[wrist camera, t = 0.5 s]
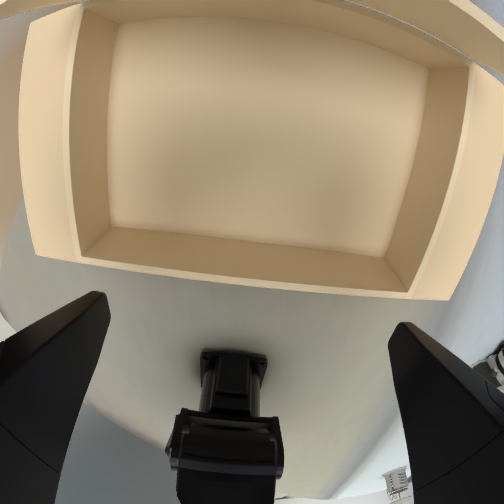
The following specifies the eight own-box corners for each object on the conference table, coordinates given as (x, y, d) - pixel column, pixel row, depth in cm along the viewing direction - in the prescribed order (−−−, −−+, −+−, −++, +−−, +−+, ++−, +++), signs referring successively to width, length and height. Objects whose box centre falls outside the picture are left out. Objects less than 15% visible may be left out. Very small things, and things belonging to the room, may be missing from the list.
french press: (390, 475, 68) (399, 525, 46) (374, 476, 65) (383, 531, 43) (411, 465, 64) (422, 517, 42) (396, 467, 61) (407, 524, 39)
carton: (421, 265, 21) (448, 300, 16) (70, 224, 19) (35, 254, 15) (468, 87, 13) (511, 92, 9) (72, 31, 11) (30, 22, 7)
